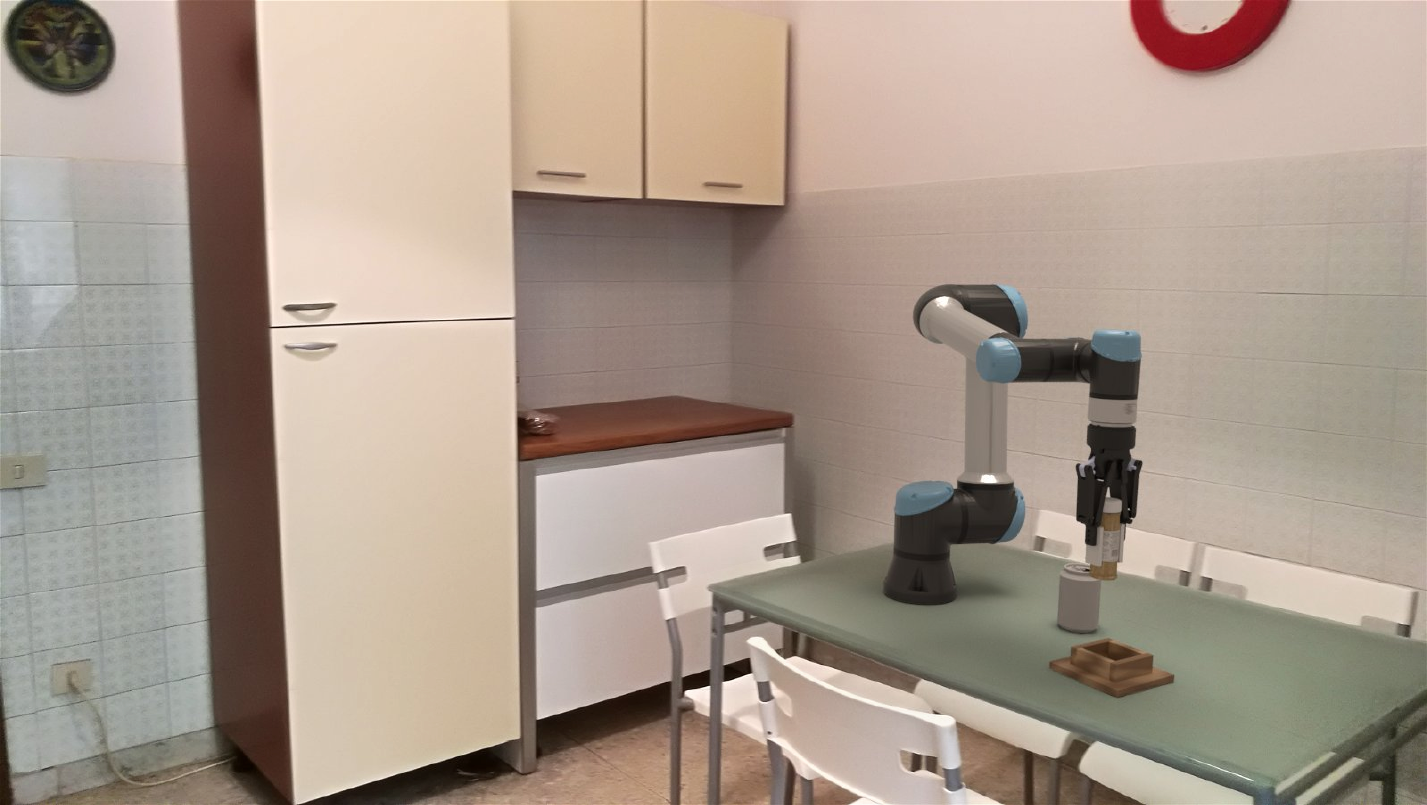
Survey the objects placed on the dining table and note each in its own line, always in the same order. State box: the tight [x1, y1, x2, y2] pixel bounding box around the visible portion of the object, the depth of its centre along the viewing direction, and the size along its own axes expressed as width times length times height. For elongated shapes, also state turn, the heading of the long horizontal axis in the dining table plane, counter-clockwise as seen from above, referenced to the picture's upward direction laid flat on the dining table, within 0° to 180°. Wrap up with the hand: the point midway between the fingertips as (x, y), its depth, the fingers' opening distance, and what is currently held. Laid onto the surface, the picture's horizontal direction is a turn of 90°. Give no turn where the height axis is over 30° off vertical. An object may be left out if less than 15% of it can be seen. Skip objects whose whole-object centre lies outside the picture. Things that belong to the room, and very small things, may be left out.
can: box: [1056, 562, 1102, 634], centre depth 197 cm, size 8×8×12 cm
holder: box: [1048, 637, 1175, 699], centre depth 174 cm, size 14×14×4 cm
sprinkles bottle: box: [1089, 496, 1122, 582], centre depth 172 cm, size 5×5×14 cm
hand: (1103, 562), depth 172 cm, fingers closed on sprinkles bottle, 4 cm apart
